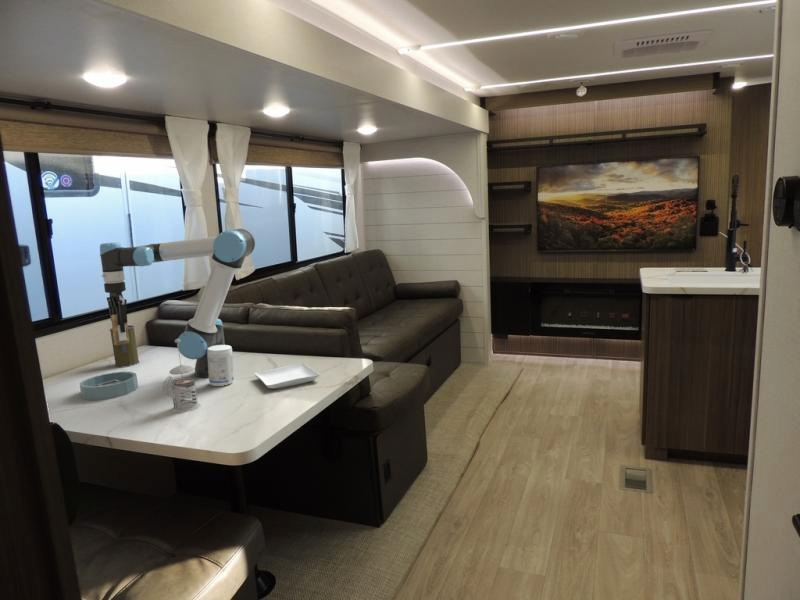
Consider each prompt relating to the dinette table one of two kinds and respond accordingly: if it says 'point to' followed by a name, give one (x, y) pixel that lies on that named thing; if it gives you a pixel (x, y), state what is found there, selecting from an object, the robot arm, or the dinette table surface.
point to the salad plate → (287, 376)
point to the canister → (126, 350)
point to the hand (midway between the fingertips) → (121, 339)
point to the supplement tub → (220, 365)
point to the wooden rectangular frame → (115, 331)
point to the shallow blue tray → (108, 385)
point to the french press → (187, 385)
